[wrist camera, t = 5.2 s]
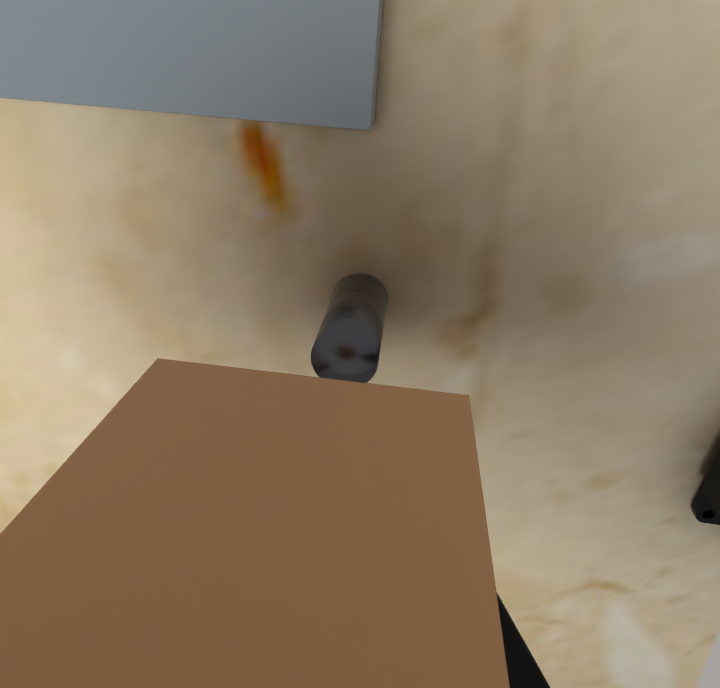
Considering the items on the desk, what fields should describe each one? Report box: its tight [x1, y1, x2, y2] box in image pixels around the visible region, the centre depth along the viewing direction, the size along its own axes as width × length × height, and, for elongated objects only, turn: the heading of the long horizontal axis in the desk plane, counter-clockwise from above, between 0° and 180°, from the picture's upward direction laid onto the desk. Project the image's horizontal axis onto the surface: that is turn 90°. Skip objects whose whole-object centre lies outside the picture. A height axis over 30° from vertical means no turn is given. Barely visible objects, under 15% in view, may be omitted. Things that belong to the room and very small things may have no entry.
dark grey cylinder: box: [311, 274, 387, 383], centre depth 17 cm, size 2×2×4 cm
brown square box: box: [0, 359, 510, 688], centre depth 8 cm, size 6×6×6 cm
